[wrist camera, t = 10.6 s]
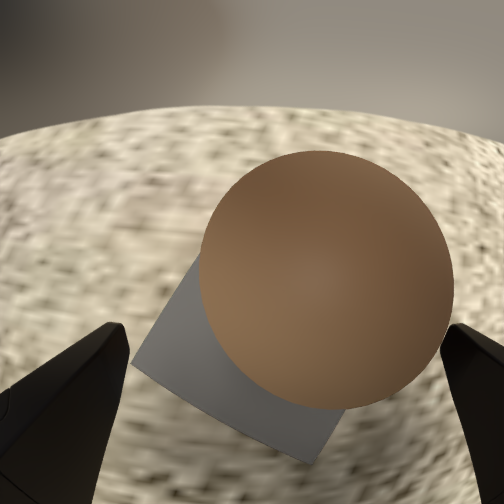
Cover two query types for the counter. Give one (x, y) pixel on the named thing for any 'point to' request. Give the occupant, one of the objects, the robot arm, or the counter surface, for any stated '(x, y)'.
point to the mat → (225, 379)
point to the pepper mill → (326, 280)
